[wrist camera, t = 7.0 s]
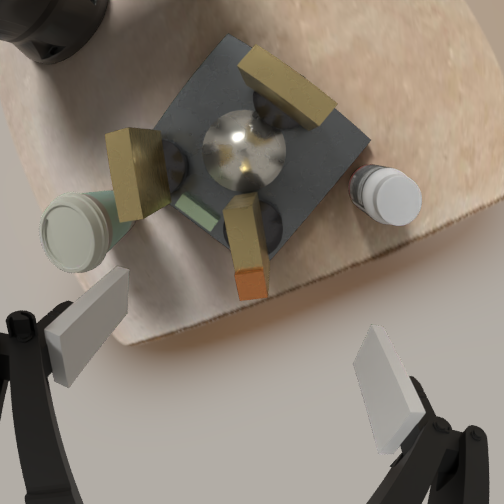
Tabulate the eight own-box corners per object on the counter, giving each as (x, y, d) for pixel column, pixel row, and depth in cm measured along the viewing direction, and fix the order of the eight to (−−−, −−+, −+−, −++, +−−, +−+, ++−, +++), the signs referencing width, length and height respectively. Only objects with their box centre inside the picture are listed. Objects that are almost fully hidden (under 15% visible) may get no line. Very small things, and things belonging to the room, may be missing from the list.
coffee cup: (96, 172, 37) (38, 186, 26) (152, 189, 37) (105, 208, 26) (87, 232, 40) (34, 262, 28) (139, 251, 40) (95, 289, 29)
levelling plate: (133, 169, 36) (122, 172, 33) (230, 38, 31) (226, 29, 28) (260, 266, 39) (259, 276, 36) (366, 140, 33) (374, 140, 30)
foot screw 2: (236, 102, 31) (221, 84, 22) (272, 59, 29) (271, 27, 20) (295, 146, 33) (303, 145, 23) (331, 103, 31) (352, 86, 21)
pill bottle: (399, 191, 35) (437, 206, 26) (366, 220, 37) (394, 244, 27) (372, 154, 34) (404, 157, 25) (337, 184, 35) (359, 197, 26)
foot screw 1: (132, 139, 33) (86, 139, 24) (183, 127, 33) (149, 121, 23) (143, 204, 36) (101, 225, 26) (193, 196, 35) (164, 215, 26)
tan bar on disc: (219, 195, 35) (196, 216, 25) (276, 186, 34) (277, 202, 24) (232, 262, 37) (217, 305, 27) (287, 255, 37) (291, 296, 26)
